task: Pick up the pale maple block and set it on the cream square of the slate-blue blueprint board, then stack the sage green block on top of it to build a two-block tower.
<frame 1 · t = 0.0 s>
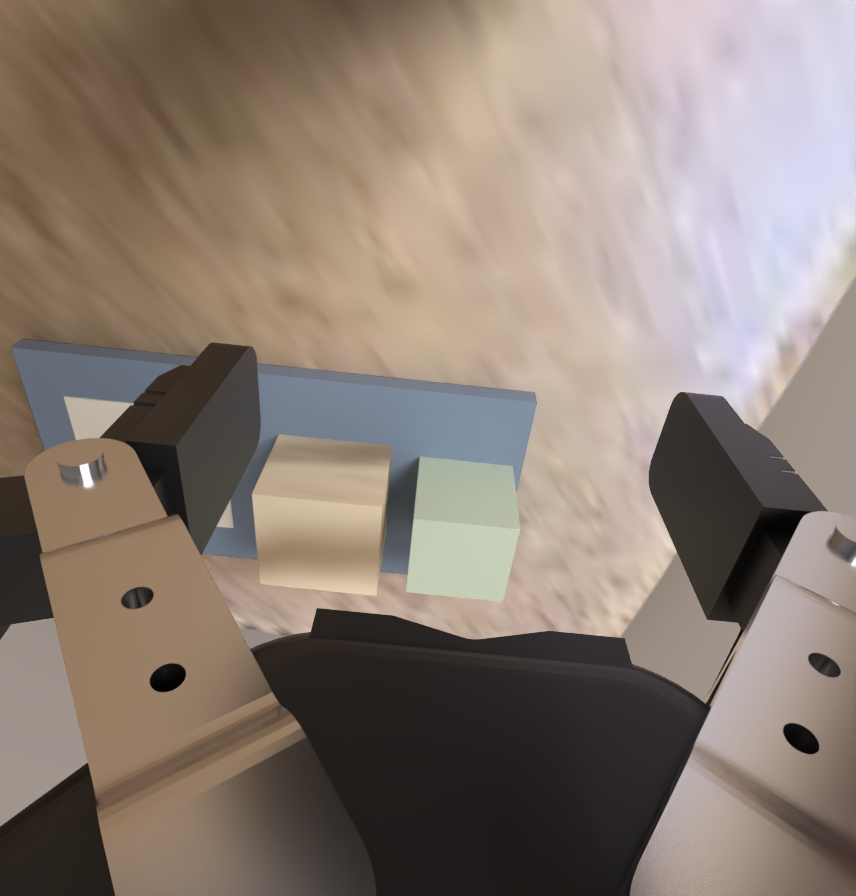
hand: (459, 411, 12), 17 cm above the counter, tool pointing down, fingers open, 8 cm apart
blueprint board: (285, 468, 34), on the counter
maple block: (335, 484, 34), point 1 cm above the counter, touching blueprint board
sage block: (460, 497, 34), point 1 cm above the counter, touching blueprint board
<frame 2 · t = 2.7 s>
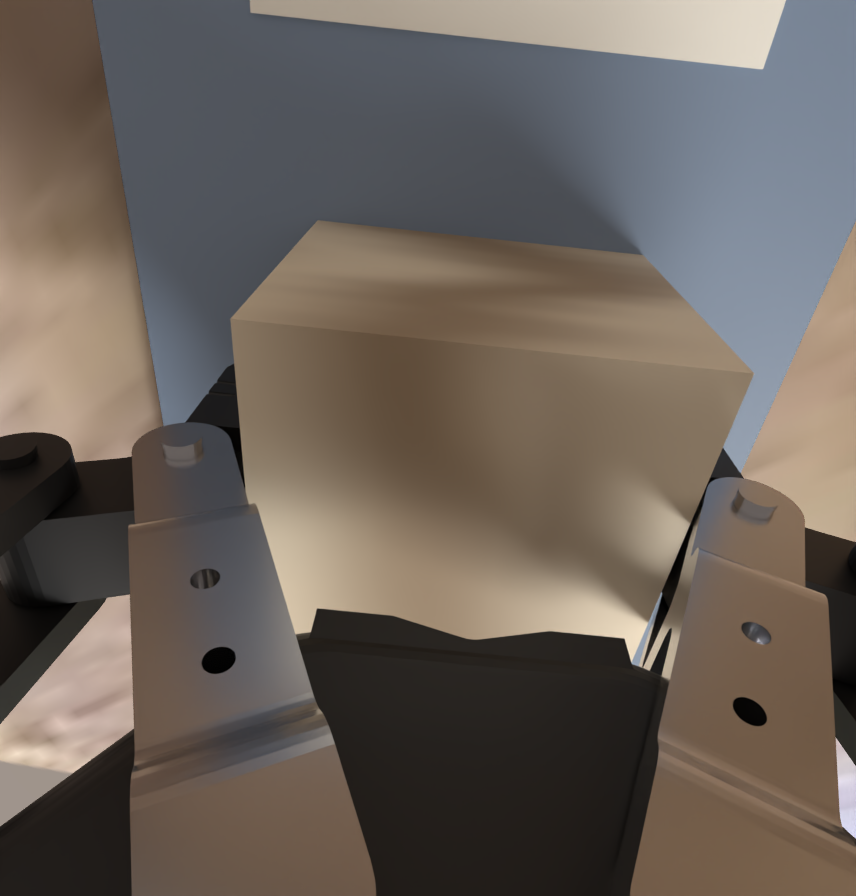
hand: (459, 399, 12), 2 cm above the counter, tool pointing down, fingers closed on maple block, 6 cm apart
blueprint board: (479, 225, 12), on the counter
maple block: (460, 383, 13), point 1 cm above the counter, touching blueprint board, gripper
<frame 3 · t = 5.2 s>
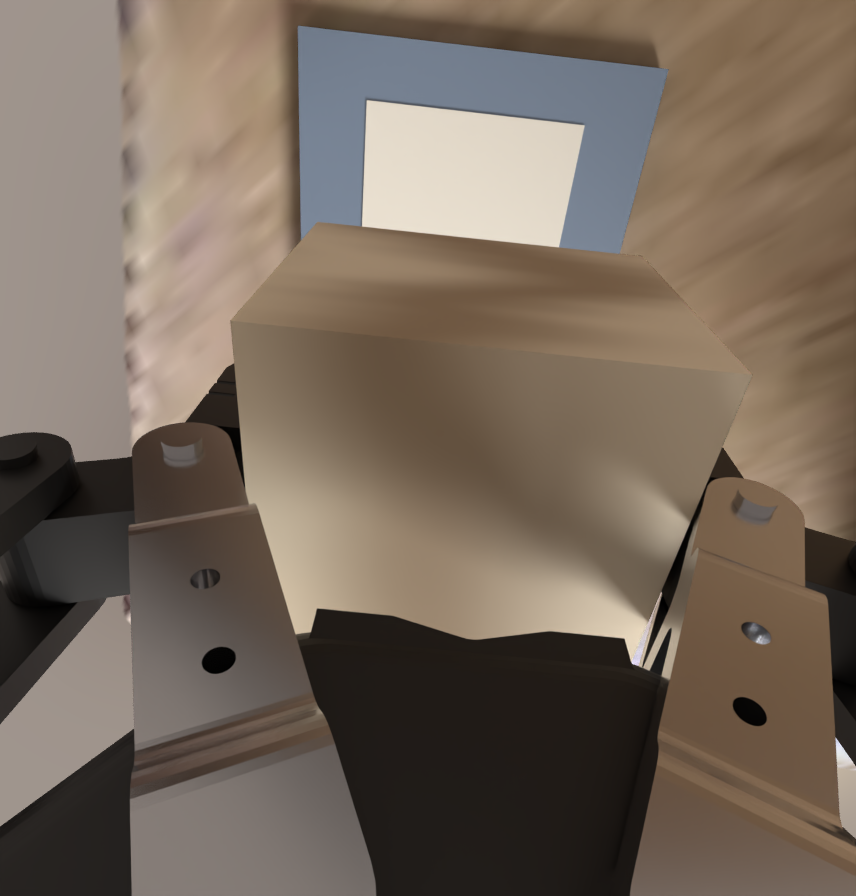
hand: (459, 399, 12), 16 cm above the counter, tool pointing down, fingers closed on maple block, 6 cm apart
blueprint board: (443, 372, 29), on the counter
maple block: (460, 384, 13), point 15 cm above the counter, touching gripper
when the fingers open (3 cm above the counter, at t = 8.0 s): maple block drops 1 cm, resting on blueprint board.
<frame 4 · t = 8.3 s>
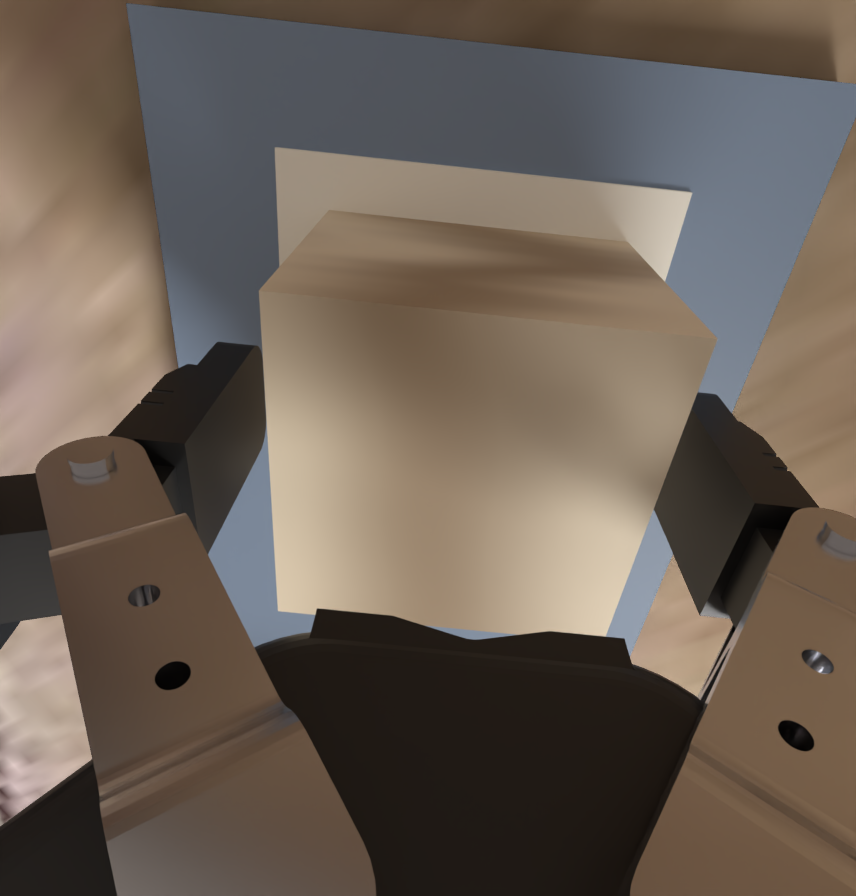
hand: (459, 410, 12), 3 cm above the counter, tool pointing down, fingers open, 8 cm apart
blueprint board: (431, 557, 18), on the counter
maple block: (460, 363, 14), point 1 cm above the counter, touching blueprint board
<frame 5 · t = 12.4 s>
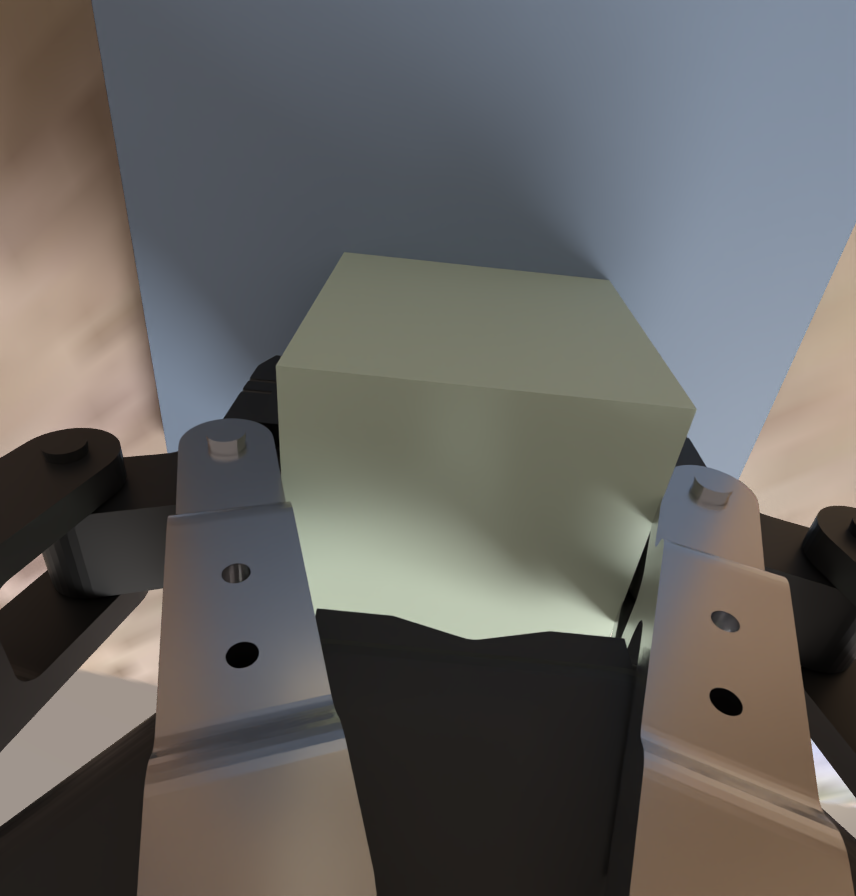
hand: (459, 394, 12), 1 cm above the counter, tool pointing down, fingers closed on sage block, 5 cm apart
sage block: (460, 385, 13), point 1 cm above the counter, touching blueprint board, gripper
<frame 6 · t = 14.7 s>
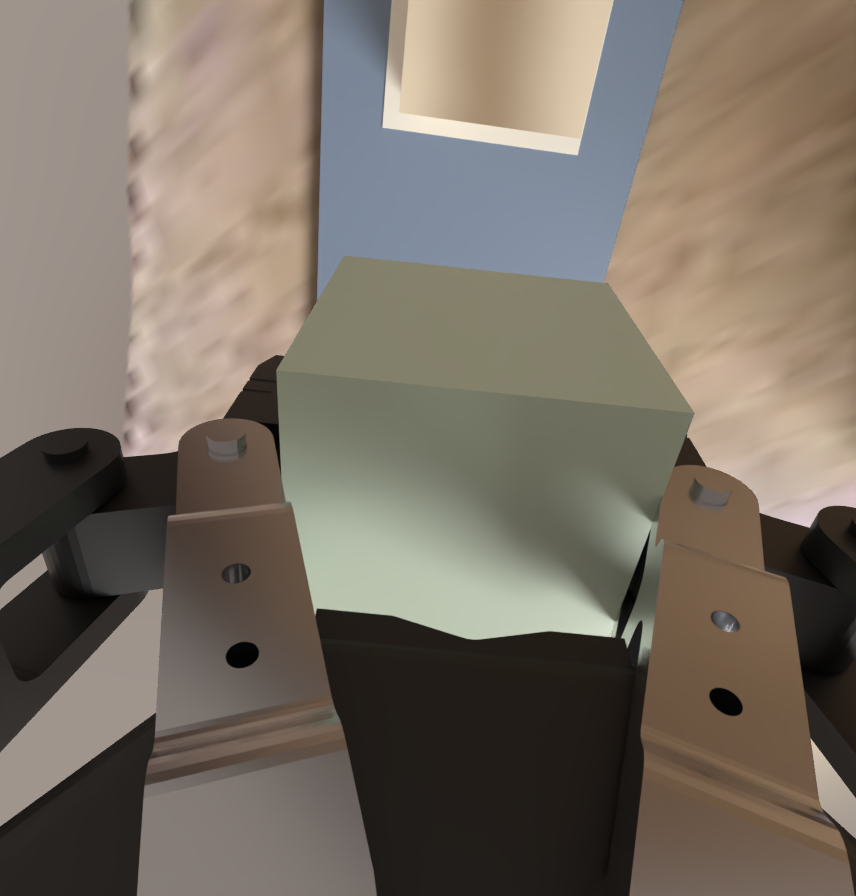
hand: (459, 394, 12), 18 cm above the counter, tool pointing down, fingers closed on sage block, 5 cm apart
blueprint board: (468, 212, 27), on the counter
maple block: (499, 22, 22), point 1 cm above the counter, touching blueprint board
sage block: (460, 387, 13), point 17 cm above the counter, touching gripper
when the fingers open (7 cm above the counter, at t = 17.5 s): sage block stays where it is, resting on maple block.
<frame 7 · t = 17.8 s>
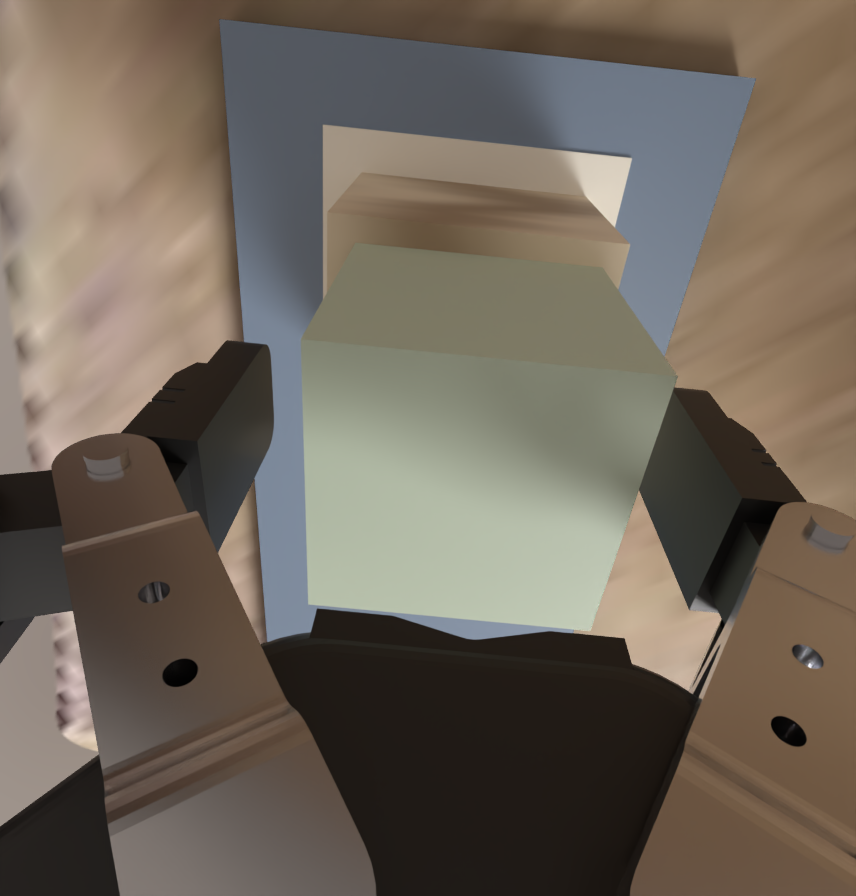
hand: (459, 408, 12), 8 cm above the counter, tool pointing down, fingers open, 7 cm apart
blueprint board: (436, 467, 22), on the counter
maple block: (460, 294, 18), point 1 cm above the counter, touching blueprint board, sage block
sage block: (464, 367, 14), point 6 cm above the counter, touching maple block
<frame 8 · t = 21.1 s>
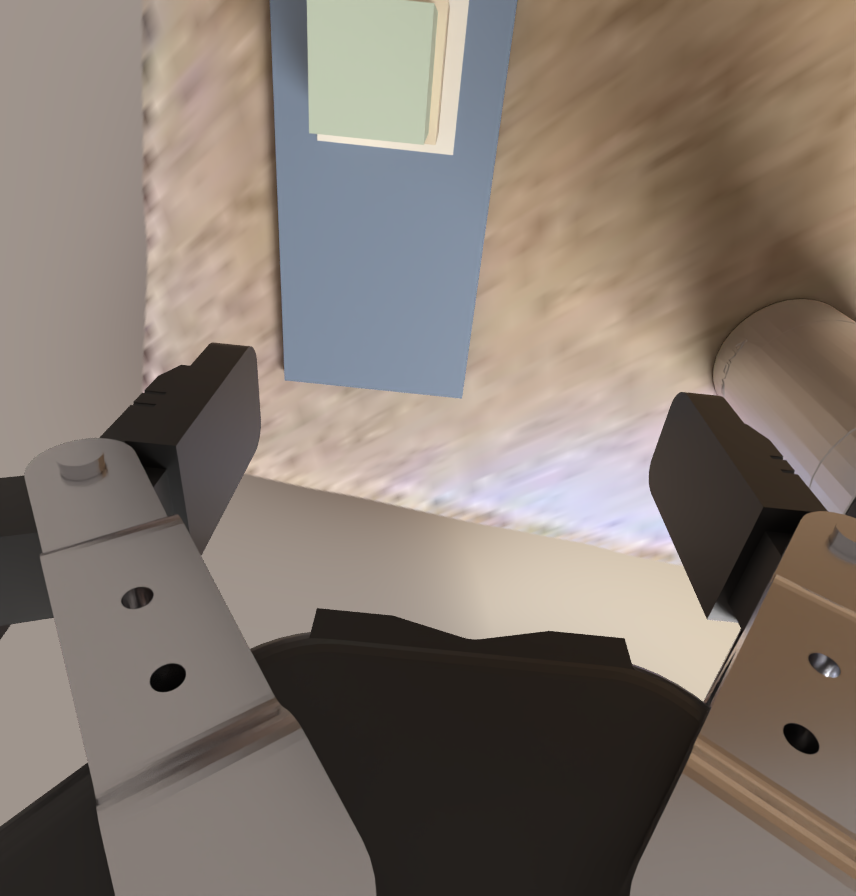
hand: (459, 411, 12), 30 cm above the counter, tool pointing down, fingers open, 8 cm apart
blueprint board: (384, 198, 38), on the counter
maple block: (389, 68, 33), point 1 cm above the counter, touching blueprint board, sage block
sage block: (381, 69, 29), point 6 cm above the counter, touching maple block
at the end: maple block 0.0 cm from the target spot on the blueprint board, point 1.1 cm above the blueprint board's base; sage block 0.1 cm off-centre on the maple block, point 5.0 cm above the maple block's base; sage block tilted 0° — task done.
